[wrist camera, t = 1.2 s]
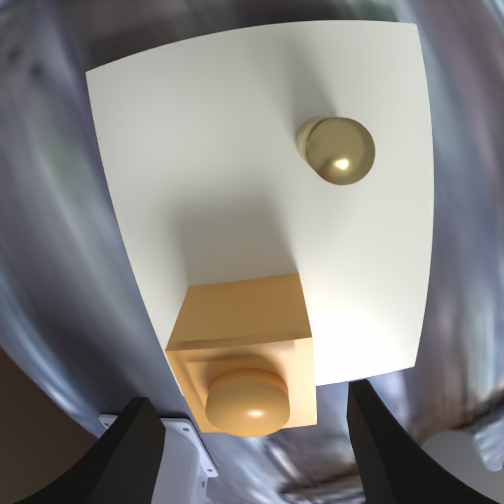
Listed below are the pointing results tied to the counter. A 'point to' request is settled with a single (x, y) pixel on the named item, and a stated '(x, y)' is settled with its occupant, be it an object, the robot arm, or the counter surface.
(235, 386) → the orange domed block
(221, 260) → the white board
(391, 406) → the counter surface
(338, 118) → the post
